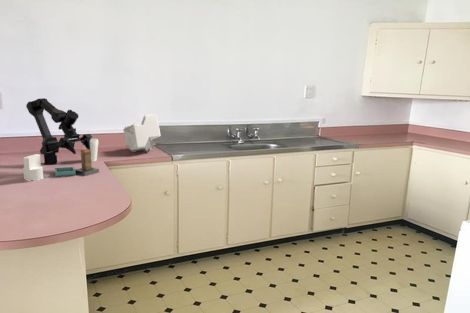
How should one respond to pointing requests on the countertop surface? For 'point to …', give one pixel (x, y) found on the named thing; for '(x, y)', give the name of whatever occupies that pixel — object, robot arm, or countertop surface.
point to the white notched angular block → (142, 133)
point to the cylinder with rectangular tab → (33, 167)
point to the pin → (86, 159)
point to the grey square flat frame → (82, 172)
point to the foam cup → (93, 149)
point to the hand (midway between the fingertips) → (82, 152)
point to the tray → (65, 171)
